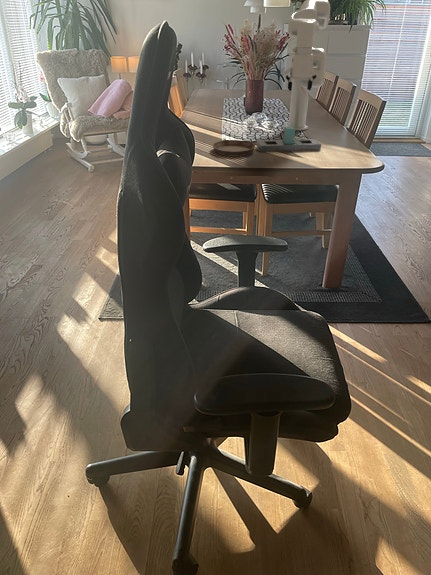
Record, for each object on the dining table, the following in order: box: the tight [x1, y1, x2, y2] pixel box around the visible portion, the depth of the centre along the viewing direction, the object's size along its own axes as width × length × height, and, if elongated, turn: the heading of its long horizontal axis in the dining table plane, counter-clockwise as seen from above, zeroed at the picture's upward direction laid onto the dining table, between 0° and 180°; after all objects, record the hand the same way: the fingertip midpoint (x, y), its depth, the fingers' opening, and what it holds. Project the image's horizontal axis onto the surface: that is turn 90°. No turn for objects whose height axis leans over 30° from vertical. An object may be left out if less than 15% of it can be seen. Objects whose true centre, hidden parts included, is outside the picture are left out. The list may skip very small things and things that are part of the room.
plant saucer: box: [212, 139, 256, 157], centre depth 223 cm, size 21×21×3 cm
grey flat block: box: [255, 138, 322, 153], centre depth 229 cm, size 10×30×3 cm, turn 99°
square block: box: [283, 126, 296, 144], centre depth 227 cm, size 4×4×10 cm
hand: (299, 89), depth 226 cm, fingers open, 9 cm apart
